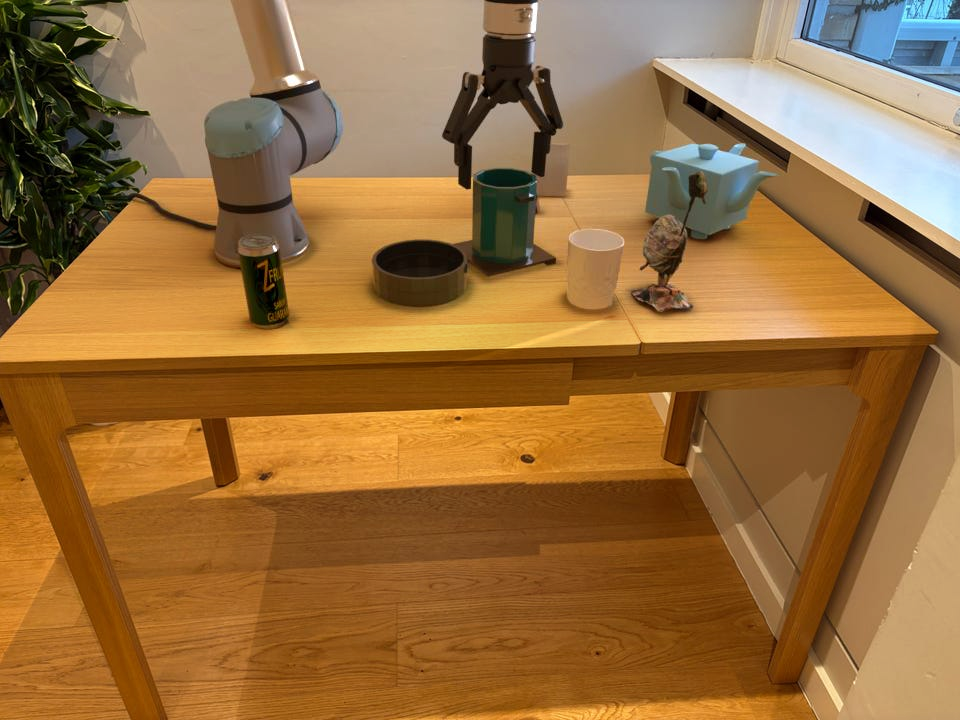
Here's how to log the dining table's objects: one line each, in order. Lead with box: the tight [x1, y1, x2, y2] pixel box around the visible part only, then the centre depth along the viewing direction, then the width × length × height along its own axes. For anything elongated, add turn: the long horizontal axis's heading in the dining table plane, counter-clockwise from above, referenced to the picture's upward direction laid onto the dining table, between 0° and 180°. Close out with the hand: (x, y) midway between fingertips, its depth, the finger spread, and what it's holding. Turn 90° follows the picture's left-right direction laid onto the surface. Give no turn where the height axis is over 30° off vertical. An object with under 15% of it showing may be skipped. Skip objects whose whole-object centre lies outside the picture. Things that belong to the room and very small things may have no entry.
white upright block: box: [532, 143, 570, 198], centre depth 145 cm, size 4×7×10 cm, turn 86°
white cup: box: [566, 228, 625, 310], centre depth 105 cm, size 8×8×10 cm
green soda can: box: [238, 234, 290, 330], centre depth 98 cm, size 5×5×12 cm
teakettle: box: [644, 142, 778, 240], centre depth 130 cm, size 19×19×15 cm
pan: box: [371, 238, 469, 308], centre depth 109 cm, size 14×14×5 cm
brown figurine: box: [630, 171, 708, 313], centre depth 104 cm, size 8×11×20 cm
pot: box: [471, 167, 537, 264], centre depth 117 cm, size 13×10×12 cm
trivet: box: [452, 239, 557, 278], centre depth 120 cm, size 13×13×1 cm
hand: (502, 180), depth 114 cm, fingers open, 13 cm apart
